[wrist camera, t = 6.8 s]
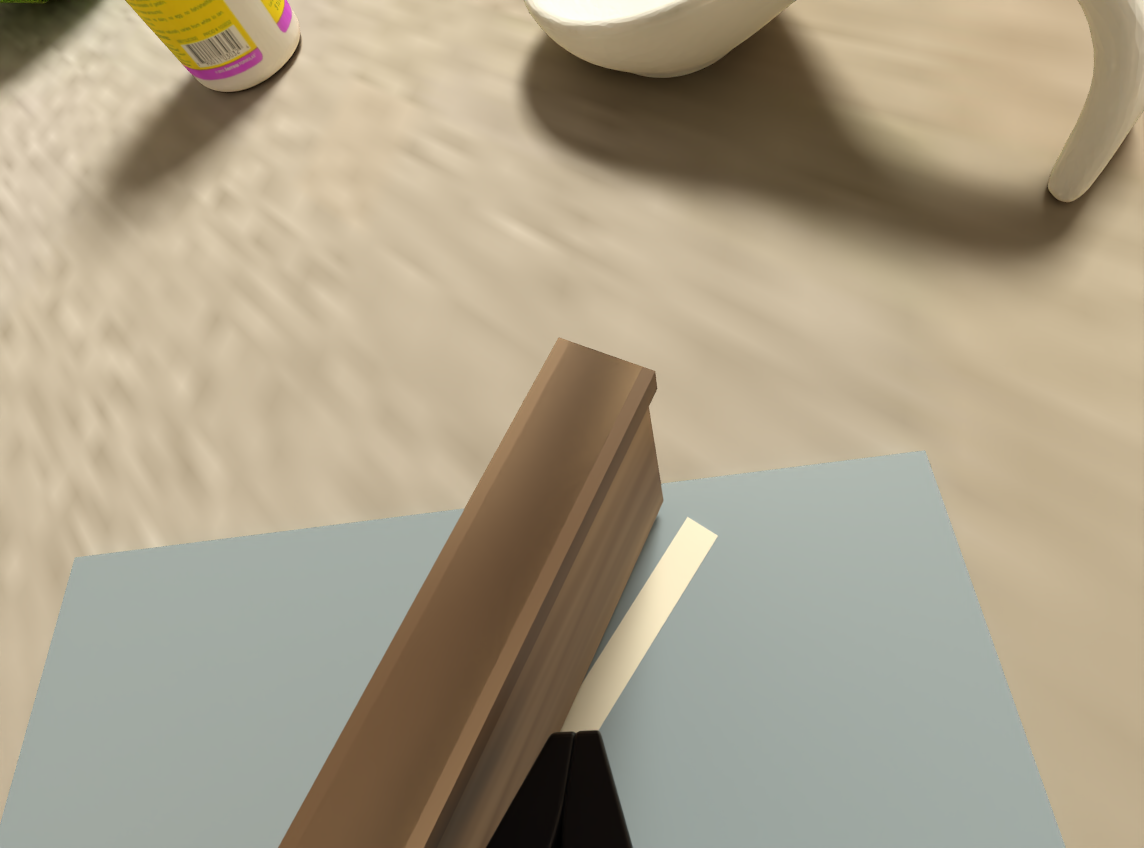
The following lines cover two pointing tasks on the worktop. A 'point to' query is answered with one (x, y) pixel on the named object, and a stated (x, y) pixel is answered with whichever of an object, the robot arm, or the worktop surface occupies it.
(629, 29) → the spoon rest
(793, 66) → the worktop surface
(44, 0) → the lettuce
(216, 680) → the card
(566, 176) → the worktop surface
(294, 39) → the supplement bottle
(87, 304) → the worktop surface
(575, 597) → the wooden board
